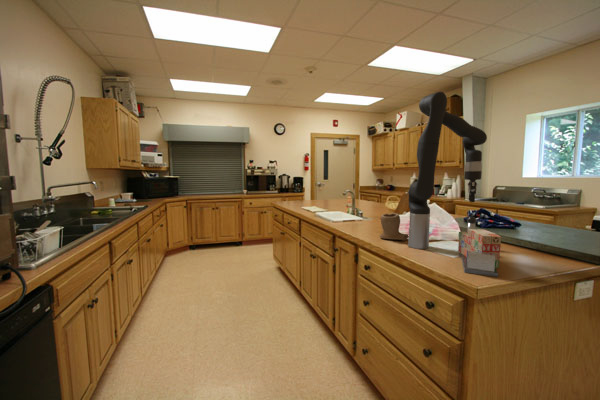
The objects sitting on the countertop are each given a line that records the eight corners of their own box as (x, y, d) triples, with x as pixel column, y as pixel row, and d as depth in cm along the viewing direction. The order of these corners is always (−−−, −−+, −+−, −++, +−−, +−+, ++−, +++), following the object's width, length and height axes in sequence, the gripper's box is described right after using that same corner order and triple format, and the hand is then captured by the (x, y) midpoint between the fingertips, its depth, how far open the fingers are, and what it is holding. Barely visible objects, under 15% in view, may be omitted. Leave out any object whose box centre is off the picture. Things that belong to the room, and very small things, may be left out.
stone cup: (376, 240, 146) (377, 213, 145) (381, 236, 156) (382, 211, 155) (405, 243, 138) (406, 215, 137) (408, 239, 149) (409, 213, 147)
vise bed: (464, 272, 96) (465, 252, 96) (459, 249, 127) (460, 234, 127) (497, 277, 92) (499, 256, 91) (484, 251, 123) (485, 236, 122)
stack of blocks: (457, 251, 118) (458, 224, 117) (472, 252, 117) (474, 225, 116) (480, 267, 97) (482, 235, 96) (499, 268, 96) (501, 235, 95)
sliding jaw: (462, 248, 122) (464, 219, 121) (460, 241, 135) (462, 215, 134) (483, 250, 118) (485, 221, 117) (479, 243, 131) (481, 216, 130)
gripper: (483, 170, 128) (481, 202, 129) (480, 170, 140) (479, 200, 141) (465, 170, 132) (463, 202, 133) (464, 170, 144) (462, 200, 145)
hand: (471, 201), depth 137 cm, fingers open, 8 cm apart
